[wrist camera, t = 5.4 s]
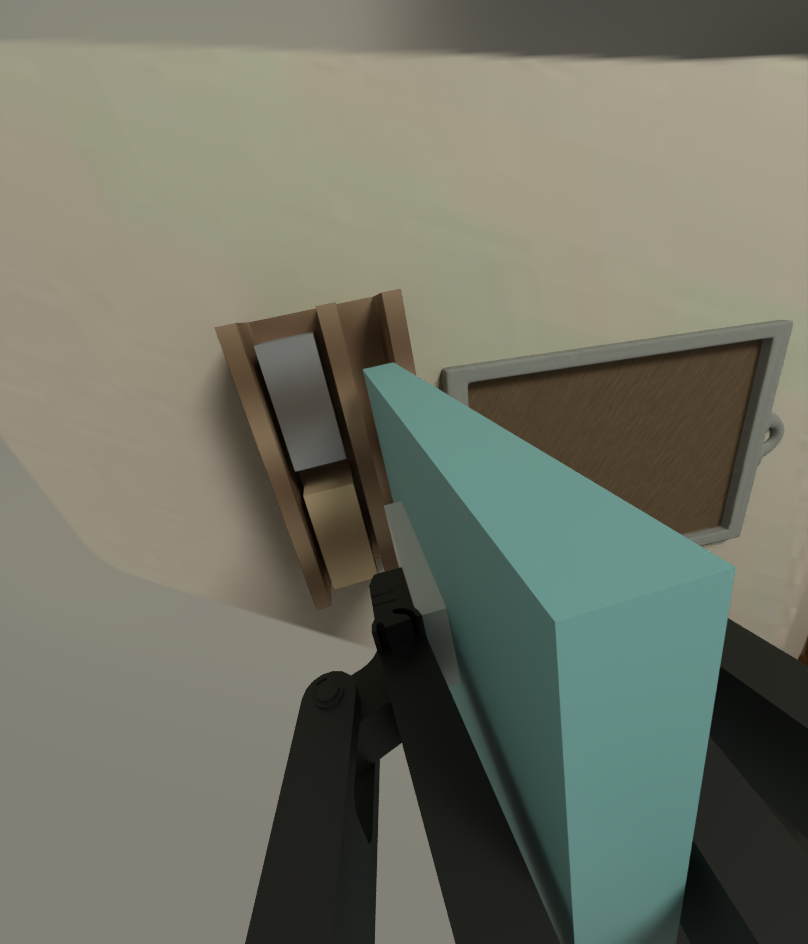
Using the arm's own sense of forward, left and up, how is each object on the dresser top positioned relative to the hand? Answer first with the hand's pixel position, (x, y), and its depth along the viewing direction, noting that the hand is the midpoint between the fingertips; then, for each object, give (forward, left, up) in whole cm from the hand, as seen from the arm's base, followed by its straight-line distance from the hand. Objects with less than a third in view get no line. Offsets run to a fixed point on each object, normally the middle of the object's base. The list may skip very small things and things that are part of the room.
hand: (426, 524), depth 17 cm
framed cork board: (-7, -19, -13) cm, 24 cm away
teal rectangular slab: (0, 0, -6) cm, 6 cm away
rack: (0, +3, -13) cm, 13 cm away
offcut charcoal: (+5, +4, -12) cm, 13 cm away
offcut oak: (-4, +4, -12) cm, 13 cm away
